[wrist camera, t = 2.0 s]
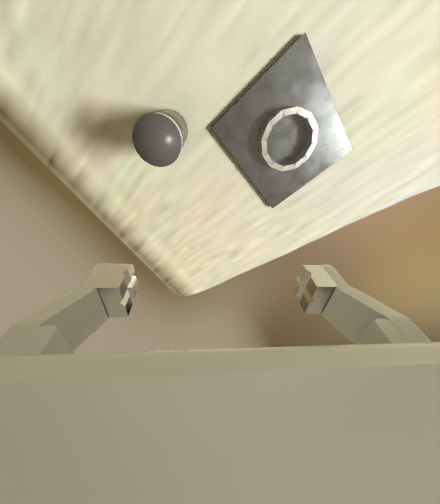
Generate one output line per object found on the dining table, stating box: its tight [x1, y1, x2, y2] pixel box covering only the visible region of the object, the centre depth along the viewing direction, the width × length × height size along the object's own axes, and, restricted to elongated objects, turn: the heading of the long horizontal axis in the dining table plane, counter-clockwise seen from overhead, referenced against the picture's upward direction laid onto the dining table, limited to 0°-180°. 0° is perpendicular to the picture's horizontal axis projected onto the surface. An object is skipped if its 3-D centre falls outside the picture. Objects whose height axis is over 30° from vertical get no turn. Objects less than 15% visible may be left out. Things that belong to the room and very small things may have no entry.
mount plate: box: [212, 33, 352, 208], centre depth 33 cm, size 18×16×3 cm
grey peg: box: [132, 109, 188, 167], centre depth 27 cm, size 5×5×12 cm
